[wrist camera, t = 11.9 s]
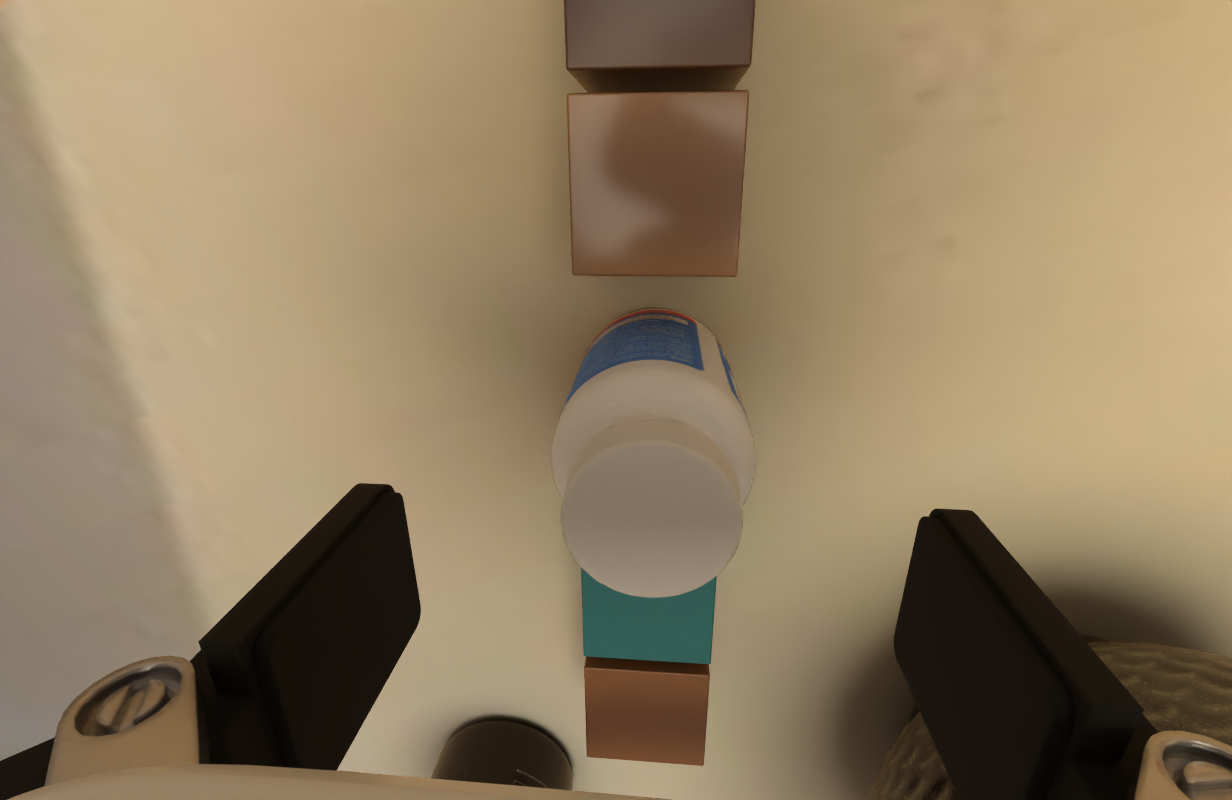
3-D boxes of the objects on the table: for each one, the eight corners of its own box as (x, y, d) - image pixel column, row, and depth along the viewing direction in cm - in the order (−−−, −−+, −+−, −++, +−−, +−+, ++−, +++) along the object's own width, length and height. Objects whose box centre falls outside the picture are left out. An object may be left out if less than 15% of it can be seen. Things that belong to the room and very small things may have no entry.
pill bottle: (555, 387, 22) (475, 532, 13) (643, 274, 20) (622, 352, 11) (667, 470, 23) (665, 660, 14) (761, 368, 21) (829, 511, 12)
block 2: (589, 111, 19) (566, 92, 15) (731, 109, 18) (749, 89, 14) (592, 255, 20) (572, 275, 16) (723, 256, 20) (737, 277, 16)
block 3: (596, 484, 24) (580, 550, 19) (709, 488, 23) (718, 557, 19) (598, 577, 25) (583, 656, 21) (703, 582, 25) (710, 664, 21)
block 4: (598, 586, 25) (583, 667, 21) (703, 592, 25) (709, 675, 21) (599, 667, 27) (586, 757, 23) (698, 673, 27) (703, 766, 22)
